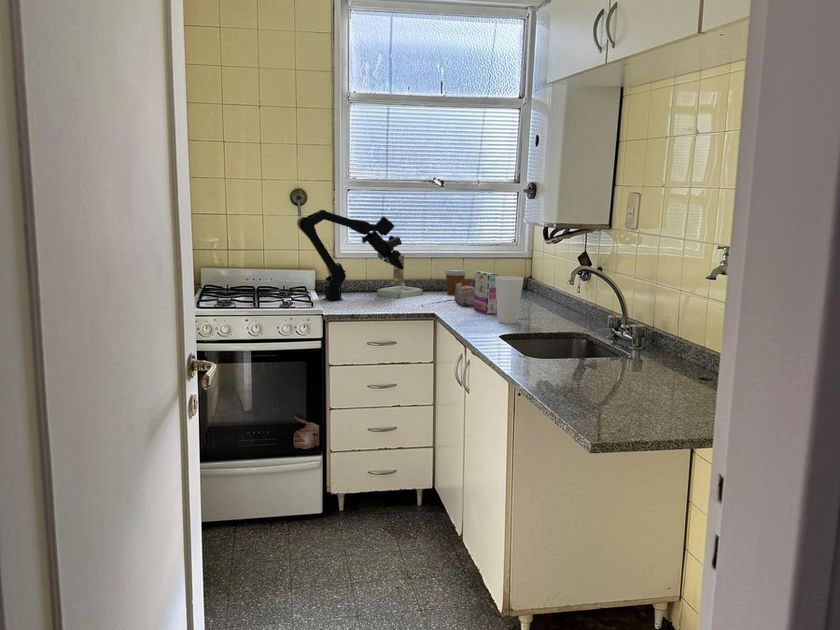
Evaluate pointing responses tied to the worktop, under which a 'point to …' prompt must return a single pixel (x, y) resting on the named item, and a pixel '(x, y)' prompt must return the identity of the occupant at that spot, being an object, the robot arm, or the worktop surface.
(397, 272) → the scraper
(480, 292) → the candy bar box
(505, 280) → the cup
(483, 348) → the worktop surface
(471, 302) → the food item
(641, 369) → the worktop surface
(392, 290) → the tray
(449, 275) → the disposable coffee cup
